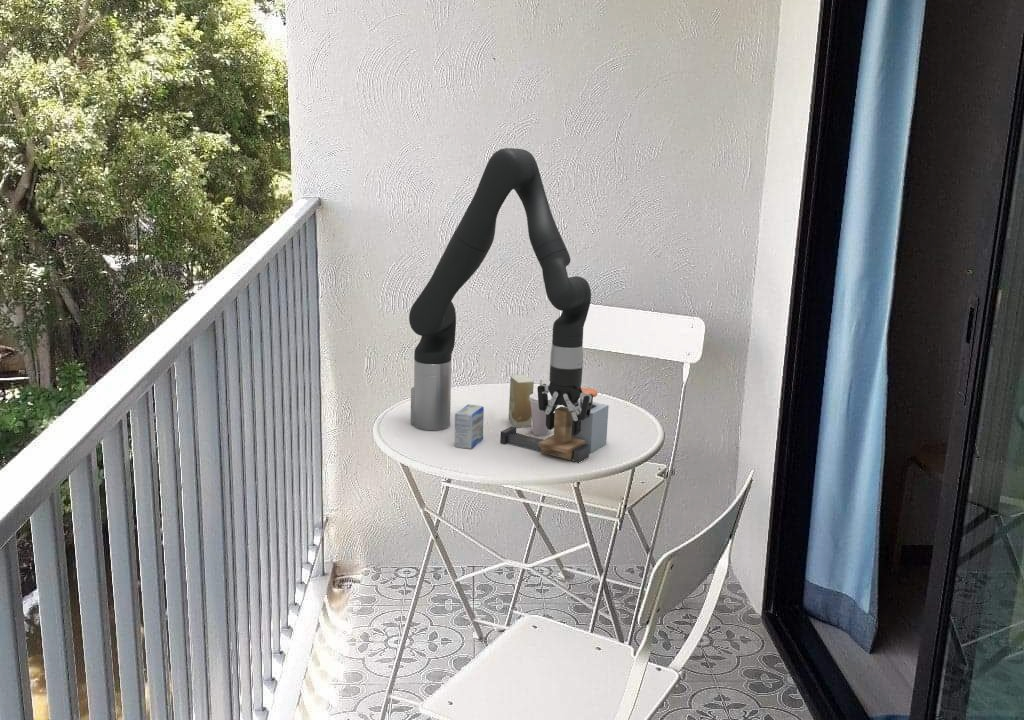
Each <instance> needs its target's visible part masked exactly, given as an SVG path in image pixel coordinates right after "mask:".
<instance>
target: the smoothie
mask: <svg viewBox="0 0 1024 720" xmlns="http://www.w3.org/2000/svg"><path fill="white" fill-rule="evenodd" d="M542 384H543V379H542V378H540V379H539V386H540V385H542ZM547 394H548V404H549V402H550V400H551V398H552V396H551V394H550V393H549V392H548V393H547ZM529 400H530V402H531V414H532V423H531V426H532V433H533V435H535V436H542V437H543V436H546V435H548V434H549V430H548V429H547V427H546V413H545V412H544V411H543V410H542V411H541V410H539V403H538V392H533V394H531V395H530V396H529Z"/></svg>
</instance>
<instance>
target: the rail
mask: <svg viewBox="0 0 1024 720" xmlns="http://www.w3.org/2000/svg"><path fill="white" fill-rule="evenodd" d="M499 433H500V435H499V442H500V445H501V444H502V445H507V444H508V445H512V446H515V447H520V448H524V449H528V450H530V451H531V450H532V451H536V452H540V453H541V447H539V442H541V441H543V440H544V439H543V438H539V437H534V436H530V435H528V434H523V433H522V434H521V433H518V432H517V427H515V426H514V425H513V426H509V427H507V428H505V429H503V430H501V431H500V432H499ZM589 447H590V445H587V444H583V445H582V446H580V447H578V448H576V449H575V450H574V451H573V455H572V459H571V460H570V461H573V463H575V462H577V463H576V464H580V463H582V462H583V461H585V460H586V458H587V459H588V458H590V453H589ZM584 459H585V460H584ZM581 461H582V462H581ZM579 462H580V463H579Z"/></svg>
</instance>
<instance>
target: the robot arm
mask: <svg viewBox="0 0 1024 720" xmlns="http://www.w3.org/2000/svg"><path fill="white" fill-rule="evenodd" d="M487 161H488V162H487V163H486V166H485V168H484V171H483V173H482V176H481V178H480V181H479V184H478V185H477V188H476V191H475V193H474V195H473V197H472V199H471V201H470V203H469V205H468V207H467V208H466V210H465V212H464V213H463V216H462V218H461V220H460V221H459V223H458V225H457V227H456V228H455V230H454V232H453V234H452V235H451V237H450V239H449V241H448V243H447V245H446V247H445V250H444V251H443V254H442V256H441V257H440V258H439V261H438V263H437V265H436V268H435V269H434V270H433V271H434V272H433V274H432V275H431V277H430V278H429V280H428V282H427V284H426V285H425V286H424V288H423V289H422V291H421V293H419V296H418V297H417V298H416V300H415V302H414V303H413V304H412V306H411V308H410V310H409V315H408V322H409V325H410V328H411V330H412V331H413V333H415V334H416V335H418V336H419V337H420V340H419V343H418V344H417V346H416V347H415V348H414V352H413V354H414V355H413V356H414V357H413V359H414V360H413V361H414V362H413V363H414V366H413V375H414V376H413V379H414V380H413V387H411V389H410V425H413V426H414V427H415V428H416V429H419V430H424V431H439V430H441V431H442V430H445V429H447V428H449V427H451V406H452V404H451V403H452V401H451V400H452V397H451V396H452V395H451V394H452V391H451V390H452V387H451V386H452V355H453V351H454V348H455V344H456V327H457V312H456V307H455V305H454V303H453V299H454V298H455V296H456V294H457V293H458V292H459V290H460V289H462V287H463V286H464V285H465V284H466V283H467V282H468V281H469V280H470V278H471V277H473V276H474V274H475V273H476V272H477V270H478V269H479V268H480V266H481V265H482V263H483V262H484V261H485V258H486V257H487V254H488V253H489V251H490V249H491V247H492V245H493V243H494V239H495V235H496V234H495V233H496V226H497V218H498V215H499V212H500V210H501V208H502V207H503V204H504V203H505V200H506V199H507V197H508V195H509V194H510V193H511V192H512V191H513V190H514V191H515V193H516V194H517V196H518V197H519V199H520V201H521V203H522V206H523V209H524V211H525V216H526V222H527V232H528V239H529V242H530V244H531V247H532V250H533V252H534V255H535V256H536V259H537V262H538V264H539V266H540V267H541V272H542V279H543V284H544V288H545V293H546V296H547V299H548V301H549V302H550V304H551V305H552V306H553V307H554V308H555V309H556V310H558V311H561V315H560V316H559V317H558V318H557V319H555V320H554V322H553V325H552V338H551V342H552V343H551V349H550V357H549V358H550V360H549V361H550V362H549V384H546V383H542V385H540V384H539V385H538V386H537V393H538V403H539V410H541V411H542V410H543V411H544V412H545V413H546V427H547V429H548V431H552V430H554V418H555V409H557V408H558V406H562V407H564V406H565V407H568V409H569V412H571V414H572V417H573V419H574V420H573V421H572V435H573V436H576V435H578V434H579V433H580V431H581V420H585V419H586V418H588V417H589V416H590V411H591V406H592V401H593V400H594V397H593V395H592V394H585V393H583V392H582V390H581V388H582V382H583V367H584V365H583V364H584V349H583V347H584V346H583V343H584V325H585V323H586V321H587V317H588V313H589V309H590V306H591V300H592V291H591V287H590V284H589V282H588V281H587V280H586V279H585V278H584V277H581V276H568V271H567V267H568V266H570V263H571V256H570V253H569V251H568V249H567V246H566V244H565V242H564V239H563V237H562V235H561V232H560V231H559V228H558V226H557V224H556V222H555V219H554V217H553V214H552V209H551V208H550V204H549V202H548V201H549V200H548V197H547V194H546V192H545V188H544V184H543V180H542V176H541V173H540V170H539V169H540V168H539V167H538V162H537V160H536V158H535V157H534V155H533V154H532V153H531V152H530V151H528V150H527V149H523V148H508V147H505V148H504V147H503V148H500V149H498V150H496V151H495V152H494V153H493V154H492V155H491V156H490V158H489V159H488V160H487ZM547 393H548V394H551V396H552V398H551V400H550V402H549V404H548V394H547ZM580 397H581V399H582V400H581V402H582V403H583V404H582V410H581V409H580V408H581V406H580V403H579V401H578V400H579V399H580ZM593 402H594V401H593ZM573 405H574V406H573Z"/></svg>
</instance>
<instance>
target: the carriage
mask: <svg viewBox="0 0 1024 720" xmlns="http://www.w3.org/2000/svg"><path fill="white" fill-rule="evenodd" d="M554 413H555V418H554V428H553V434H552V435H550V436H548V437H546V438H545V439H543V441H541V442H539V447H541V452H540V453H542V454H545V455H550V456H553V457H558V458H562V459H565V460H568V461H572V460H571V459H572V455H573V451H574V450H575V449H576V448H578V447H580V446H582V445H583V444H585V440H581V439H577V438H573V437H571V426H572V414H571V412H569V409H568V408H566V407H564V406H563V405H560V407H557V408H556V409H555V411H554Z"/></svg>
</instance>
